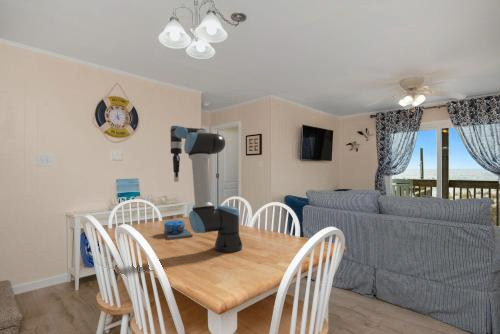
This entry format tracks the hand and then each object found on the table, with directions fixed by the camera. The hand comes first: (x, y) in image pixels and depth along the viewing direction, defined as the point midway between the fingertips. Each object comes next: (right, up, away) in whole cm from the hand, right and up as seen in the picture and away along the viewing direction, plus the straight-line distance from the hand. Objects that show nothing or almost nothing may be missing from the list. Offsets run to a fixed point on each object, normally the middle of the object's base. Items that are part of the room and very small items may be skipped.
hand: (176, 181), depth 194 cm
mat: (+5, -35, -14) cm, 38 cm away
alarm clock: (0, -29, -4) cm, 30 cm away
